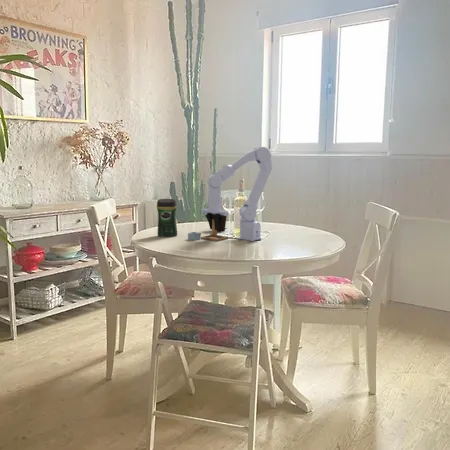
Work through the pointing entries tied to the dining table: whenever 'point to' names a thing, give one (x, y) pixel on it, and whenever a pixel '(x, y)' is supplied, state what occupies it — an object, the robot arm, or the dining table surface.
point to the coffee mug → (222, 224)
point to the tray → (214, 238)
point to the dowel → (214, 229)
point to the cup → (194, 236)
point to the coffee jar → (167, 218)
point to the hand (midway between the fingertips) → (214, 229)
